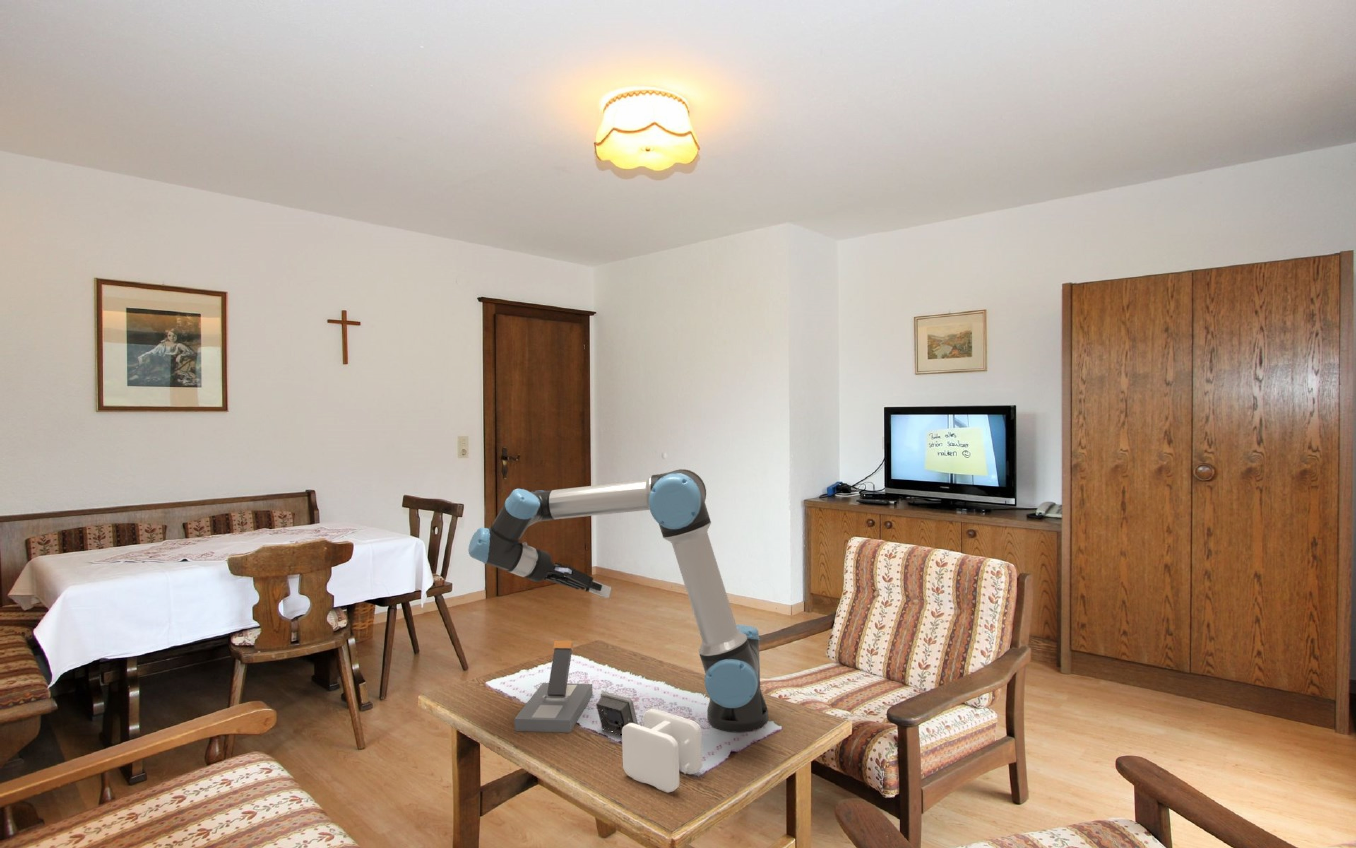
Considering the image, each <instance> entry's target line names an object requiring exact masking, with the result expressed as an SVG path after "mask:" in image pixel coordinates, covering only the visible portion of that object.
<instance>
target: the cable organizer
mask: <svg viewBox="0 0 1356 848" xmlns="http://www.w3.org/2000/svg"><path fill="white" fill-rule="evenodd" d="M642 724H643V725H640V724H638V725H637V724H634V723H629V724H627V725H625V726H624V727H623V728H622V730H621V731H622V735H621V746H622V768H623V771H624V773H626V775H627V776H628V777H630V778H632V780H634V781H637V782H639V783H642V784H648V785H650V786H652V787H655V788H656V789H657V790H660V791H662V792H664V793H668V794H670V793H671V792H675V790H676V789H677V790H678V788H679V787H680V772H681V773H683V774H684V775H686V774H687V775H695V774H697V773H698V772H699V771H700V770H702V768H703V744H702V743H703V741H702V739H703V737H702V728H701V726H700V725H699V724H698V722H696V721H694V720H692V719H690V718H687V717H682V716H680V715H676V714H673V713H671V712H666V711H663V710H661V709H658V708H650V709H648V710H646V711H645V712H644V713H643V715H642Z"/></svg>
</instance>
